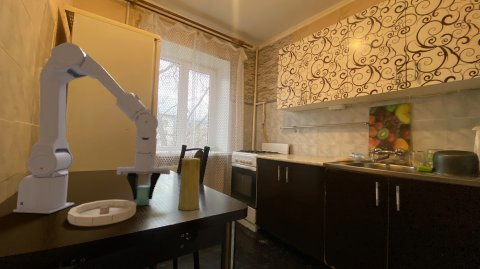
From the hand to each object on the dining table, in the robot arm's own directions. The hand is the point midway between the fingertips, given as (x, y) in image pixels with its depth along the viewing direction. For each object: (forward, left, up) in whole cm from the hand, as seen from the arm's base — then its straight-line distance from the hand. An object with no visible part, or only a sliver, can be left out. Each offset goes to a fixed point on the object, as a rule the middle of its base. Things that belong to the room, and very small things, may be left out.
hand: (143, 198), depth 63 cm
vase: (+14, -1, -2) cm, 14 cm away
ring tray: (-5, -10, -2) cm, 11 cm away
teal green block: (0, 0, -1) cm, 1 cm away
